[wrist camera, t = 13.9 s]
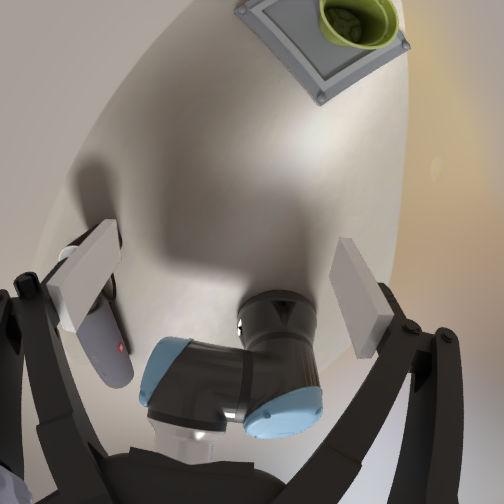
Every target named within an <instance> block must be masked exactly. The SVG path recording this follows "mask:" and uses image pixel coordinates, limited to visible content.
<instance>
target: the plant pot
mask: <svg viewBox="0 0 504 504" xmlns="http://www.w3.org/2000/svg"><path fill="white" fill-rule="evenodd" d="M319 7H320V13H321V16H320V19H319V28H320V31H321V32H322V34H323V35H324V37H325V38H326V39H327V40H328V41H329V42H331V43H333V44H335V45H338V46H343V47H346V46H354V47H357V48H361V49H378V48H382V47H385V46H387V45H388V44H390V43H391V42H392V41H393V40H394V39H395V37H396V35H397V33H398V29H399V19H398V14H397V11H396V9H395V7H394V5H393V3H392V2H391V0H320V2H319ZM340 12H343V13H346V14H348V15H349V17H347V16H345V15H343V14H340ZM326 17H327V19H326ZM340 25H342V26H343V28H340ZM357 30H358V36H357V37H354V36H355V34H356V31H357Z"/></svg>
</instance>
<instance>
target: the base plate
mask: <svg viewBox="0 0 504 504" xmlns="http://www.w3.org/2000/svg"><path fill="white" fill-rule="evenodd" d="M319 2H320V0H249V1H247V2H246V3H244V4H243V5H241V6H240V7H238V8H237V9H235V10H234V13H235V14H236V15H237V16H238V17H239V18H240V19H241V20H242V21H243V22H244V23H245V24H246V25H247V26H248V27H249V28H250V29H251V30H252V31H253V32H254V33H255V34H256V35H257V36H258V37H259V38H260V39H261V40H262V41H263V42H264V43H265V44H266V45H267V46H268V48H269V49H270V50H271V51H272V52H273V53H274V54H275V55H276V56H277V57H278V58H279V60H280V61H281V62H282V63H283V64H284V65H285V66H286V67H287V69H288V70H289V71H290V72H291V73H292V74H293V76H294V77H295V78H296V79H297V80H298V82H299V83H300V84H301V85H302V86H303V88H304V89H305V90H306V91H307V93H308V94H309V95H310V96H311V98H312V99H313V100H314V102H315V103H316V104H317V105H318V106H321V105H323V104H324V103H326V102H327V101H329V100H330V99H332V98H333V97H335V96H336V95H338V94H339V93H340V92H342V91H343V90H345V89H346V88H348V87H350V86H351V85H353V84H354V83H356V82H357V81H359V80H360V79H362V78H363V77H365V76H367V75H368V74H370V73H371V72H373V71H374V70H376V69H378V68H379V67H381V66H383V65H384V64H386V63H388V62H389V61H391V60H393V59H394V58H396V57H398V56H399V55H401V54H403V53H404V52H406V51H408V50H410V49H411V47H410V44H409V43H408V42H407V41H406V40H405V38H404V37H403V35H402V34H401V32H400V31H399V30H398V33H397V35H396V37H395V39H394V40H393V41H392V42H391V43H390V44H388V45H387V46H385V47H382V48H378V49H361V48H357V47H354V46H346V47H343V46H338V45H335V44H333V43H331V42H329V41H328V40H327V39H326V38H325V37H324V35H323V34H322V32H321V31H320V28H319V19H320V16H321V13H320V7H319ZM340 14H343V15H345V16H347V17H349V15H348V14H346V13H343V12H340ZM326 19H327V17H326ZM340 28H343V26H342V25H340ZM357 36H358V30H357V31H356V34H355V36H354V37H357Z"/></svg>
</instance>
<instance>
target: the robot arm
mask: <svg viewBox="0 0 504 504" xmlns="http://www.w3.org/2000/svg"><path fill="white" fill-rule="evenodd" d="M120 261H121V253H120V246H119V239H118V231H117V223H116V219H105V220H104V221H103V222H102V223H101V224H100V225H99V226H98V227H97V228H96V229H95V230H94V231H93V232H92V233H91V234H90V235H89V236H88V237H87V238H86V239H85V240H84V241H83V242H82V243H81V245H80V246H79V247H78V248H77V249H76V250H75V251H74V252H73V253H72V254H71V256H70V257H66V258H64V259H63V260H61V261H59V262H58V263H57V265H56V266H55V267H54V269H52V270H51V271H50V273H49V274H48V275H47V276H46V277H45V278H44V280H43V281H42V282H41V283H39V280H38V277H37V275H36V273H34V272H25V273H23V274H21V275H19V276H18V277H17V278H16V279H15V280H14V283H13V284H14V287H15V289H16V292H17V295H18V297H13V298H10V296H9V293H8V291H7V290H5V289H1V290H0V504H31V502H32V500H33V497H32V494H31V493H30V491H29V490H28V488H27V485H26V484H25V482H24V458H23V447H22V427H21V395H22V375H23V363H24V354H25V360H26V366H27V371H28V377H29V382H30V386H31V390H32V395H33V399H34V403H35V407H36V411H37V415H38V418H39V425H37V426H36V430H37V435H38V438H39V441H40V444H41V447H42V450H43V453H44V456H45V458H46V461H47V464H48V466H49V469H50V471H51V474H52V476H53V479H54V481H55V483H56V485H57V488H58V490H56V491H54V492H53V493H51V494H50V495H48V496H46V497H45V498H43V499H42V500H40V501H38V502H37V503H35V504H337V503H338V502H339V501H340V499H341V498H342V497H343V495H344V494H345V492H346V491H347V489H348V488H349V487H350V485H351V484H352V482H353V481H354V479H355V478H356V476H357V475H358V473H359V471H360V469H361V467H362V464H361V463H362V460H363V459H364V457H365V455H366V454H367V452H368V450H369V449H370V447H371V445H372V444H373V442H374V440H375V438H376V436H377V435H378V433H379V431H380V429H381V427H382V425H383V424H384V422H385V420H386V418H387V416H388V414H389V412H390V410H391V408H392V406H393V404H394V401H395V400H396V397H397V395H398V393H399V391H400V389H401V387H402V384H403V382H404V380H405V377H406V375H407V373H411V384H410V394H409V402H408V410H407V416H406V423H405V429H404V434H403V440H402V445H401V450H400V455H399V459H398V464H397V468H396V472H395V476H394V480H393V483H392V487H391V491H390V494H389V497H388V501H387V504H459V503H458V496H457V494H458V488H459V481H460V472H461V464H462V450H463V430H464V403H463V402H464V401H463V380H462V367H461V359H460V358H461V357H460V348H459V341H458V337H457V336H456V335H455V333H454V332H453V331H452V330H450V329H448V328H444V327H441V328H438V330H437V331H436V332H435V334H430V333H425V332H422V330H421V327H420V326H419V325H418V324H417V323H416V322H414V321H413V320H410V319H407V318H406V316H405V315H404V313H403V311H402V309H401V308H400V306H399V304H398V302H397V300H396V299H395V297H394V295H393V294H392V292H391V290H390V289H389V288H388V287H387V286H386V285H385V284H384V283H377V282H376V280H375V278H374V276H373V275H372V273H371V271H370V269H369V268H368V266H367V264H366V262H365V261H364V259H363V257H362V256H361V254H360V252H359V251H358V249H357V247H356V246H355V244H354V242H353V241H352V239H350V238H341V237H339V241H338V245H337V249H336V252H335V256H334V260H333V263H332V267H331V271H330V274H329V278H330V281H331V284H332V286H333V289H334V292H335V295H336V297H337V300H338V303H339V306H340V309H341V312H342V315H343V317H344V320H345V323H346V326H347V329H348V332H349V335H350V338H351V341H352V344H353V348H354V350H355V354H356V357H357V359H363V358H372V356H373V355H374V353H375V351H376V350H377V352H378V355H379V357H378V358H377V360H376V362H375V364H374V365H373V367H372V368H371V370H370V372H369V374H368V375H367V377H366V379H365V381H364V382H363V384H362V385H361V387H360V389H359V390H358V392H357V393H356V395H355V396H354V398H353V399H352V401H351V403H350V404H349V406H348V407H347V409H346V410H345V411H344V413H343V414H342V416H341V417H340V419H339V420H338V422H337V423H336V424H335V426H334V427H333V428H332V430H331V431H330V433H329V434H328V435H327V437H326V438H325V439H324V440H323V442H322V443H321V444H320V446H319V447H318V448H317V449H316V451H315V452H314V453H313V455H312V456H311V457H310V458H309V459H308V461H307V462H306V463H305V464H304V465H303V467H302V468H301V469H300V470H299V471H298V472H297V473H296V475H295V476H294V477H293V478H292V479H291V480H290V481H289V482H288V483H287V484H285V483H283V482H282V481H281V480H280V479H278V478H276V477H275V476H273V475H271V474H269V473H267V472H264V471H261V470H258V469H254V463H253V462H230V461H219V462H212V463H211V459H212V451H213V444H214V442H215V440H216V439H218V438H219V437H220V436H222V435H224V434H225V433H226V426H227V422H236V423H243V427H244V429H245V432H246V433H247V434H248V435H250V436H254V437H255V438H261V439H274V438H282V437H287V436H291V435H294V434H297V433H300V432H302V431H304V430H306V429H308V428H310V427H311V426H313V425H314V424H315V423H316V422H317V421H318V420H319V419H320V417H321V415H322V412H323V403H322V389H321V387H320V382H319V377H318V372H317V367H316V362H315V357H314V352H313V341H314V336H315V331H316V327H317V319H316V315H315V311H314V308H313V306H312V304H311V303H310V302H309V301H308V300H307V299H306V298H304V297H303V296H301V295H299V294H297V293H294V292H290V291H283V290H275V291H268V292H264V293H261V294H258V295H256V296H254V297H253V298H251V299H249V300H248V301H247V302H246V303H245V304H244V305H243V306H242V308H241V309H240V311H239V314H238V319H237V331H238V335H239V337H240V340H241V342H242V345H243V347H244V349H245V350H243V349H238V348H231V347H225V346H220V345H214V344H209V343H204V342H199V341H194V339H191V338H190V339H183V338H177V337H165V338H163V339H161V340H160V341H159V342H158V343H157V345H156V346H155V348H154V350H153V351H152V354H151V356H150V358H149V360H148V363H147V365H146V368H145V371H144V374H143V378H142V381H141V386H140V388H141V389H140V393H139V402H140V403H141V404H142V405H143V406H144V407H148V414H147V419H148V421H149V422H150V424H151V425H152V426H153V428H154V430H155V438H154V445H153V451H148V450H143V449H138V448H134V447H130V451H129V453H121V454H116V455H112V456H108V454H107V452H106V451H105V450H104V448H103V447H102V445H101V443H100V441H99V439H98V437H97V435H96V433H95V431H94V429H93V427H92V424H91V422H90V420H89V418H88V415H87V413H86V411H85V408H84V406H83V403H82V401H81V398H80V396H79V393H78V390H77V388H76V385H75V383H74V379H73V377H72V374H71V371H70V368H69V365H68V362H67V358H66V355H65V352H64V349H63V345H62V342H61V338H60V334H59V331H58V329H57V325H58V323H59V322H61V325H62V327H63V329H64V330H66V331H70V332H75V333H76V332H77V330H78V328H79V327H80V325H81V323H82V321H83V320H84V318H85V316H86V315H87V313H88V311H89V310H90V308H91V306H92V305H93V303H94V301H95V300H96V298H97V296H98V295H99V293H100V291H101V290H102V288H103V287H104V285H105V284H106V282H107V280H108V279H109V277H110V276H111V274H112V273H113V271H114V270H115V268H116V267H117V265H118V264H119V262H120Z"/></svg>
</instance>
